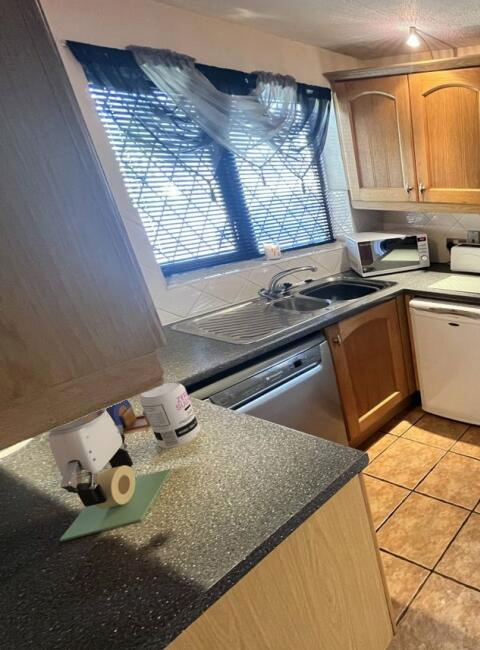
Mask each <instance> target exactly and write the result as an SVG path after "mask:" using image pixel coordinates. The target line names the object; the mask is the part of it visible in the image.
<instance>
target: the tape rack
mask: <svg viewBox="0 0 480 650" xmlns="http://www.w3.org/2000/svg"><path fill="white" fill-rule="evenodd" d="M122 419H123V421H124V423H125V425H126V427H124V428H123V434H122V435H124V436H125V435H129V434H135V433H139V432H144V431H148V430H149V429H150V428H151V425H150V423H149V421H148V419H147V416H146V414H145V412H144V410H143V411H142V413H141V414H135V411H134V409H133V407H132V406H131V407H129V408H128V409H127V410H126V412H125V413H124V414H123V415H122Z"/></svg>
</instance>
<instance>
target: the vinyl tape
mask: <svg viewBox="0 0 480 650" xmlns="http://www.w3.org/2000/svg"><path fill="white" fill-rule="evenodd" d="M129 407H132V404H131V403H130V401H129V400H128V399H126V400H125V401H123V402H121V403H119V404H116V405H113V406H112V407H109V408H107V409H106V411H107V413H108V414H109V415H110V417H111V418H112V420H113V421H114V423H115V425H116V426H117V425H122V426H123V428H124V427H126V425H125V423H124V421H123V419H122V415H123V414H124V413H125V412H126V410H127V409H128V408H129Z"/></svg>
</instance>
